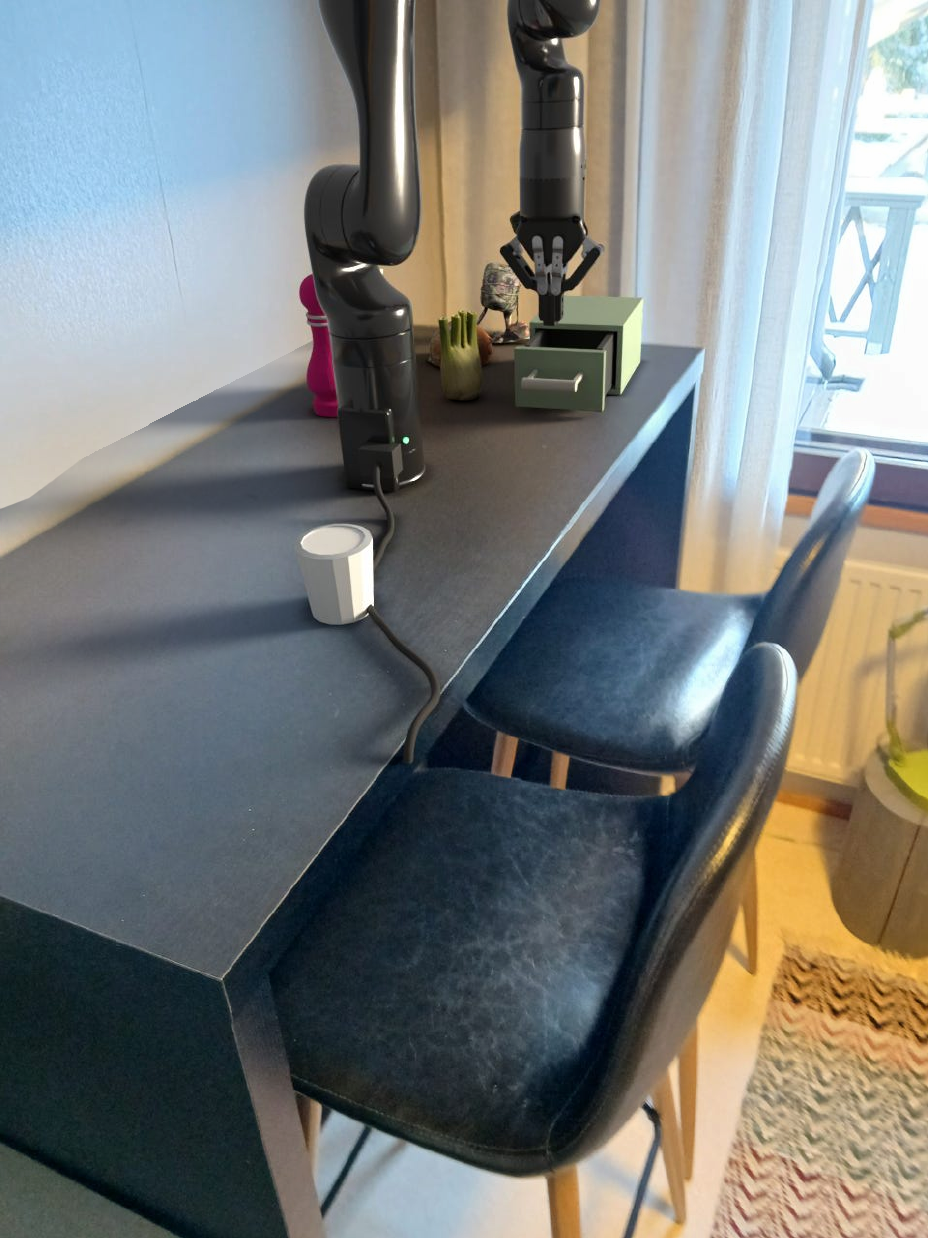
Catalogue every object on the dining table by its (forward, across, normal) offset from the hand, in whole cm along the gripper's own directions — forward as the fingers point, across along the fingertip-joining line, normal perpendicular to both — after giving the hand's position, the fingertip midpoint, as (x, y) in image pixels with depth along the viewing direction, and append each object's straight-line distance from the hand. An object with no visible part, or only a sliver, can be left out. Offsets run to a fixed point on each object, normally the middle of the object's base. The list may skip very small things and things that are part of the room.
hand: (551, 324), depth 116 cm
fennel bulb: (+13, -15, +7) cm, 21 cm away
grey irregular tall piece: (+12, -17, +37) cm, 42 cm away
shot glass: (+13, -6, -50) cm, 52 cm away
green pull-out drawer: (+12, 0, +7) cm, 14 cm away
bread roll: (+13, -21, +24) cm, 34 cm away
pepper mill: (+13, -30, -2) cm, 33 cm away
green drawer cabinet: (+12, 0, +20) cm, 23 cm away
